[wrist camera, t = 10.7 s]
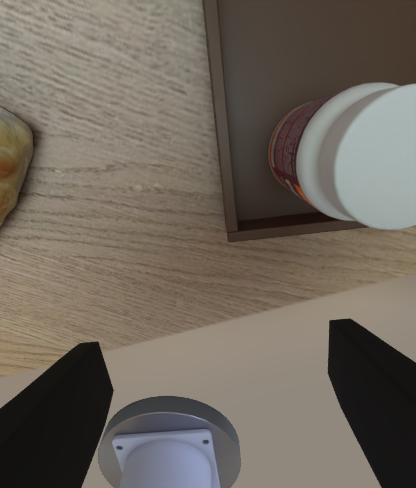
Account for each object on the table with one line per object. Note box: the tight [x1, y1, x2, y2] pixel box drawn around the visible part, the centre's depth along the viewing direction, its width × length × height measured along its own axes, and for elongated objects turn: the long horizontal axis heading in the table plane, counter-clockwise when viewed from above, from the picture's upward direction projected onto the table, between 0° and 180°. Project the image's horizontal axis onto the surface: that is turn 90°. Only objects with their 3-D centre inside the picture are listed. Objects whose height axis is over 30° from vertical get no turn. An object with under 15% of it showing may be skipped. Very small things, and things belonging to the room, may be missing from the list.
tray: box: [202, 0, 416, 242], centre depth 14 cm, size 16×13×3 cm
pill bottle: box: [268, 82, 416, 230], centre depth 12 cm, size 5×5×8 cm
